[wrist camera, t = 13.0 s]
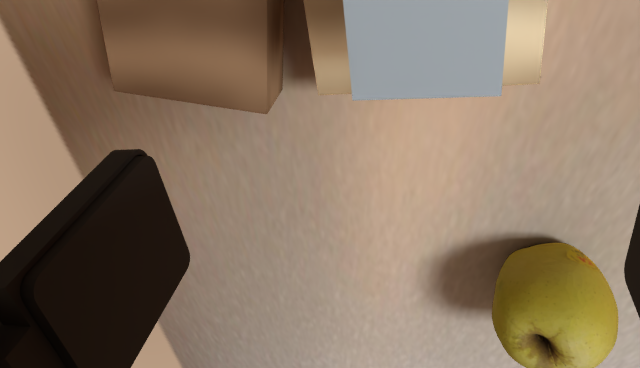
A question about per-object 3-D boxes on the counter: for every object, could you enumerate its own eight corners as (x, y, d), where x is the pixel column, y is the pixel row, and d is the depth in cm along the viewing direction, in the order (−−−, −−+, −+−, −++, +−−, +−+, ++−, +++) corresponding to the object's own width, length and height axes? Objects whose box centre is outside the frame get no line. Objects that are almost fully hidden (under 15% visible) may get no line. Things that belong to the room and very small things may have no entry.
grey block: (362, -81, 24) (337, -52, 18) (496, -96, 23) (514, -70, 17) (371, 44, 27) (352, 100, 22) (488, 37, 26) (501, 95, 20)
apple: (647, 259, 34) (655, 405, 29) (558, 293, 41) (549, 419, 35) (553, 202, 33) (542, 341, 28) (476, 246, 40) (454, 367, 34)
